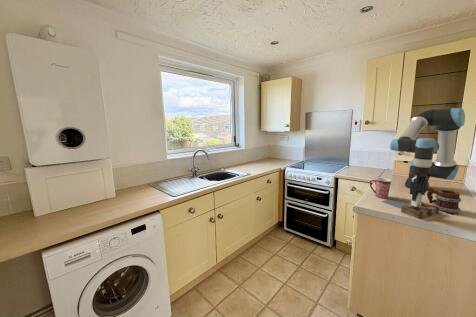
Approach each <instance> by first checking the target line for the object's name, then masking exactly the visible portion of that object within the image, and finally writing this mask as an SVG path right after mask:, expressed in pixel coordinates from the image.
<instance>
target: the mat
mask: <svg viewBox="0 0 476 317" xmlns="http://www.w3.org/2000/svg"><path fill="white" fill-rule="evenodd" d="M380 202H381V203H384V204H387V205H390V206H391V207H392V206H393V207H395V208H398V209H401V208H402V206H405V205H409V204H411V202H407V201H404V200H400V199H398V198H394V197H393V198H390V199H384V200H381V201H380Z"/></svg>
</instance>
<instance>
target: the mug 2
mask: <svg viewBox="0 0 476 317" xmlns="http://www.w3.org/2000/svg"><path fill="white" fill-rule="evenodd" d="M428 189H429V190H427V193H426V194H427V195H426V197H427V199H428V204H430V205H433V206H436V207H439V212H441V213H446V214H448V215H449V214H450V215H451V214H452V215H458V214H459V212H461V208H460V207H459V204H460V202H462V199H461V197H460V195H461V194H460V193H459V192H457V191H453V190H449V189H438V190H435V189H434V188H433V187H432V186H430V187H428ZM433 195H435V196H434V197H435V198H436V199H434V197H433Z"/></svg>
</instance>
